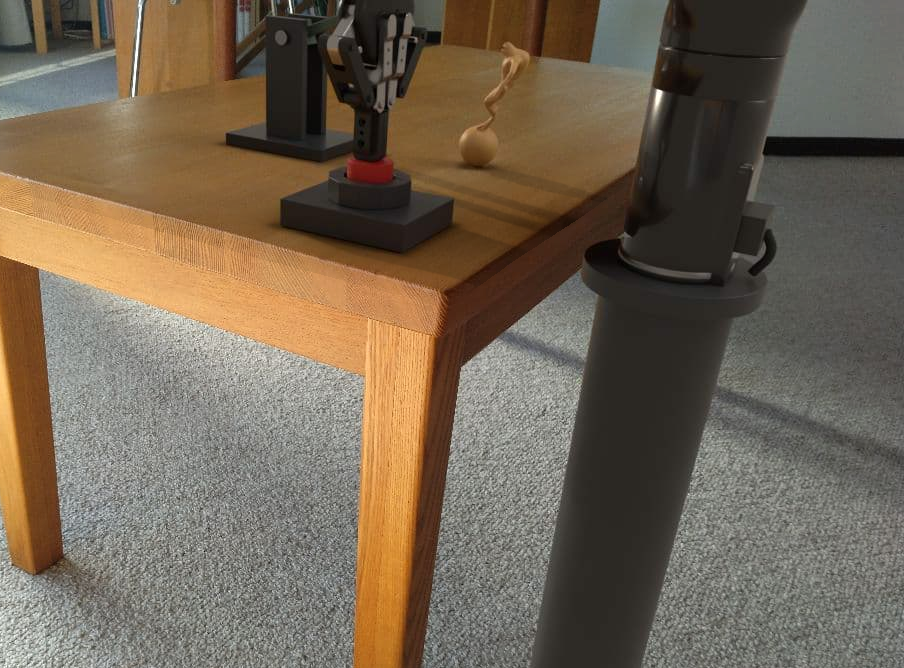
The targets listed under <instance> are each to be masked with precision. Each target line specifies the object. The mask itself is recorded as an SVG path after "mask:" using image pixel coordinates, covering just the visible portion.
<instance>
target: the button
mask: <svg viewBox="0 0 904 668" xmlns="http://www.w3.org/2000/svg"><path fill="white" fill-rule="evenodd" d="M394 164H395V163H394V159H392V158H391V157H388V156H385V158H384V159H381V160H379V161H376V162H367V161H362V160H357V159H355V158H354V156H353V155H352V156H349V157H348V158H347V166H346V167H347V179H349V180H353V181H358V182H366V183H383V182H391V181H393V169H394Z"/></svg>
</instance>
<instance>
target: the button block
mask: <svg viewBox="0 0 904 668" xmlns="http://www.w3.org/2000/svg"><path fill="white" fill-rule="evenodd" d="M279 207H280V208H279V218H280V219H279V224H280V226H282V227H286V228H290V229H295V230H300V231H304V232H308V233H313V234H317V235H321V236H324V237H325V236H326V237H331V238H335V239H338V240H343V241H348V242H351V243H357V244H360V245H365V246H371V247H374V248H379V249H383V250H386V251H387V250H388V251H392V252H396V253H401V254H403V253H405V252H406V251H408V250H410V249H411V248H414V247H415V246H417V245H418V244H420V243H423V242H424V241H426V240H427V239H429V238H431V237H432V236H434V235H436V234H438V233H439V232H441V231H443V230H444V229H446V228H448V227H450V226H451V225H453V217H454V208H455V198H454V197H450V196H444V195H439V194H433V193H428V192H424V191H419V190H412V176H411V174H410V173H409V174H408V173H406V172H404V171H402V170H399V169H395V168H393V181H391V182H383V183H366V182H358V181H353V180H349V179H347V166H340V167H338V168H337V167H336V168H335V169H332V170H329V171H328V179H327V180H325V181H323V182H320V183H317V184H314V185H312V186H310V187H307V188H305V189H302V190H300V191H296V192H294V193H291V194H289V195H285V196H284V197H281V198H280V199H279Z"/></svg>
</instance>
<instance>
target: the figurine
mask: <svg viewBox="0 0 904 668" xmlns="http://www.w3.org/2000/svg"><path fill="white" fill-rule="evenodd" d="M502 47H503V48H502V49H501V50H500V51H501V53H502V54H503V56H504V58H503V60H502V65H501V80H500V81H499V82H498V83H497V84H498V86H496V87H495V88H494V89H493V90H492V91H491V92H490V93H488V94H487V96H486V97H485V99H484V107H485V109H486V110H487V111H488V113H489V114H490V117H489V118H488V119H487V120H486V121H485V122H480V123H479V124H478V125H474V126H471V127H469V128H467V129H466V130H465V131H464V132H463V133H462V134H461V136H460V138H459V140H458V141H459V142H458V152H459V155H460V157H461V159H462V160H463V161H464V162H465V163H467V164H468V165H470V166H473V167H482V166H485V165H488V164H489V163H490V162H492V160H494V158H495V157H496V155H497V153H498V150H499V141H498V137H497V135H496V133H495V132H494V131H493V130H492V129H491V128H490V126H492V124H493V123H494V122H495V121H496V120H497V117H498V112H499V106H498V105H496V103H497V102H498V101H500V100H502V99H503V98H504V97H505V95H506V94H507V93H508V92H509V91H510V90H511V89H512V88H513V87H514V86H515V84H516V83H517V80H519V78H520V77H521V76H522V75H523V74H524V72H525V71H526V70H527V68H528V66H529V64H530V61H531V57H530V54H529V52H528V51H526V50H523V49H520V48H518V47H516V46H514V45H513V44H512V43H511V42H509V41H506V42H504V44H503V45H502Z"/></svg>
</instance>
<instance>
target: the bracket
mask: <svg viewBox="0 0 904 668" xmlns="http://www.w3.org/2000/svg"><path fill="white" fill-rule="evenodd" d="M328 18H330V17H329V16H324V15H323V16H322V15H313V14H304V13H293V12H292V13H291V12H290V13H287V16H280V15H279V16H278V15H272V14H271V15H265V122H262V123H261V122H260V123H257V124H253V125H250V126H246V127H243V128H238V129H235V130H231V131H228V132H225V144H226V145H227V146H228V145H229V146H234V147H240V148H246V149H249V150H256V151H261V152H267V153H272V154H276V155H283V156H288V157H292V158H299V159H303V160H304V159H305V160H308V161H314V162H320V163H322V162H325V161H328V160H331V159H334V158H336V157H339V156H343V155H345V154H348V153H351V152H353V137H354V132H353V133H352V132H347V131H340V130H336V129H335V130H334V129H328V128H327V110H328V109H327V108H328V107H327V105H328V104H327V103H328V73H327V71H326V68H325V65H324V63H323V60H322V58H321V55H320V53H319V50H318V45H317V44H318V39H319V36H320V35H321V34H326V35H329V32H330V31H327V32H324V33H321V34H318V35H315V37H316V41H317V44H314V45H311V46H308V47H307V36H308V20H307V19H311V22H312V24H314V23H317V22H320V21H322V20H325V19H328Z"/></svg>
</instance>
